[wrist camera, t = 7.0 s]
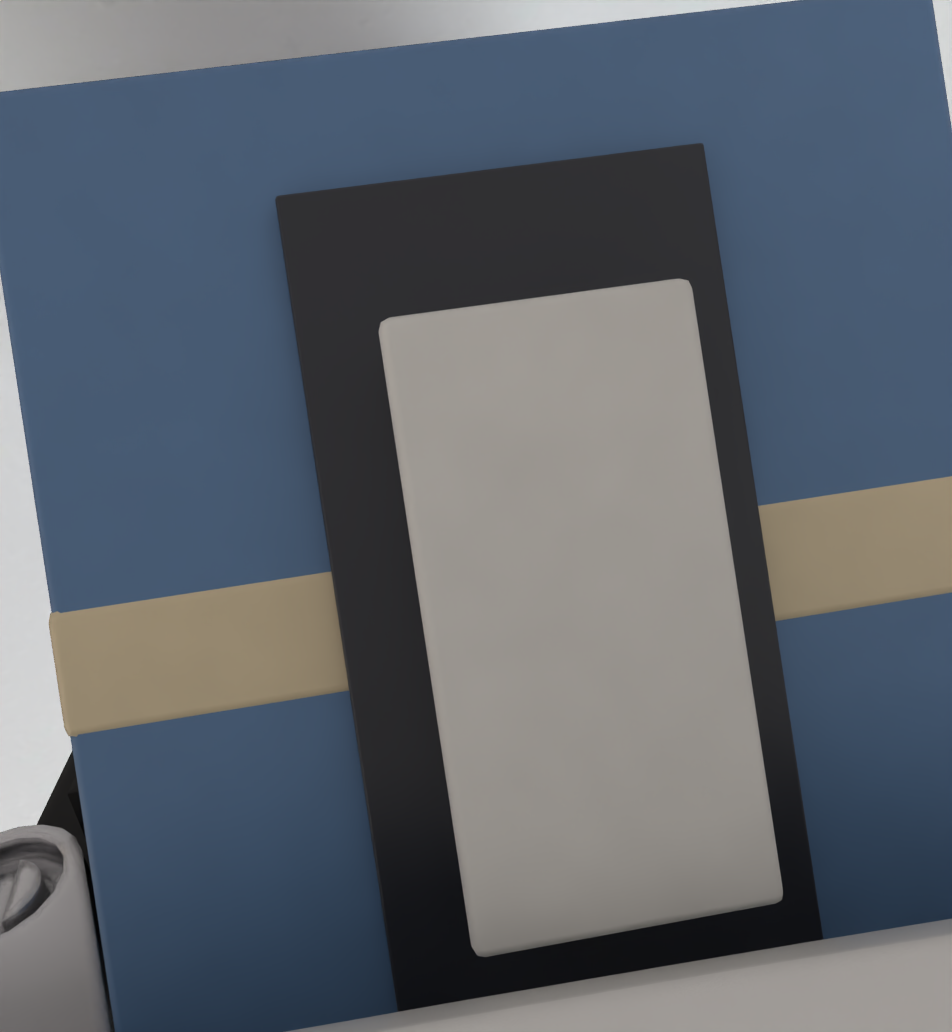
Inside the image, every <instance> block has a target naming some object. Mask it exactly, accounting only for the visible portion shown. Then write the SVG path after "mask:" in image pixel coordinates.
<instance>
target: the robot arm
mask: <svg viewBox="0 0 952 1032" xmlns="http://www.w3.org/2000/svg"><path fill="white" fill-rule="evenodd" d="M0 1032H115V1028H114V1021H113V1015H112V1008H111V1002H110V995H109V988H108V982H107V975H106V968H105V962H104V955H103V949H102V942H101V935H100V929H99V922H98V916H97V909H96V902H95V896H94V889H93V882H92V876H91V869H90V863H89V856H88V849H87V843H86V836H85V829H84V823H83V816H82V810H81V803H80V796H79V790H78V783H77V776H76V770H75V763H74V757H73V750H72V752H71V755H70V757H69V759H68V761H67V763H66V765H65V767H64V769H63V771H62V773H61V775H60V777H59V780H58V782H57V784H56V786H55V788H54V790H53V792H52V794H51V796H50V798H49V800H48V802H47V805H46V807H45V809H44V811H43V813H42V815H41V817H40V819H39V821H38V823H37V825H33V826H23V827H17V828H13V829H10V830H7V831H4V832H0ZM286 1032H952V919H946V920H940V921H934V922H927V923H921V924H915V925H909V926H903V927H897V928H891V929H885V930H878V931H872V932H866V933H860V934H854V935H848V936H842V937H836V938H829V939H823V940H817V941H811V942H805V943H799V944H793V945H787V946H781V947H775V948H769V949H763V950H758V951H752V952H746V953H740V954H734V955H728V956H722V957H716V958H710V959H704V960H698V961H692V962H686V963H680V964H674V965H668V966H663V967H657V968H651V969H645V970H639V971H633V972H627V973H621V974H615V975H609V976H604V977H598V978H592V979H586V980H580V981H574V982H568V983H563V984H557V985H551V986H545V987H539V988H533V989H527V990H521V991H516V992H510V993H504V994H498V995H492V996H486V997H480V998H475V999H469V1000H463V1001H457V1002H451V1003H446V1004H440V1005H434V1006H429V1007H423V1008H417V1009H412V1010H406V1011H400V1012H394V1013H389V1014H383V1015H377V1016H372V1017H366V1018H360V1019H355V1020H349V1021H343V1022H337V1023H332V1024H326V1025H320V1026H315V1027H309V1028H303V1029H298V1030H292V1031H286Z"/></svg>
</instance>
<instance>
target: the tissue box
mask: <svg viewBox="0 0 952 1032" xmlns="http://www.w3.org/2000/svg"><path fill="white" fill-rule="evenodd" d="M0 273H1V280H2V286H3V293H4V300H5V306H6V313H7V320H8V326H9V333H10V339H11V346H12V353H13V359H14V366H15V372H16V379H17V386H18V392H19V399H20V406H21V412H22V419H23V425H24V432H25V439H26V445H27V452H28V459H29V465H30V472H31V478H32V485H33V492H34V498H35V505H36V512H37V518H38V525H39V531H40V538H41V545H42V551H43V558H44V565H45V571H46V578H47V584H48V591H49V598H50V604H51V611H52V612H51V614H50V618H49V629H50V635H51V642H52V648H53V655H54V662H55V668H56V675H57V681H58V688H59V695H60V701H61V708H62V715H63V721H64V728H65V730H66V732H67V734H68V736H70V737H71V743H72V750H73V757H74V763H75V770H76V776H77V783H78V790H79V796H80V803H81V810H82V816H83V823H84V829H85V836H86V843H87V849H88V856H89V863H90V869H91V876H92V882H93V889H94V896H95V902H96V909H97V916H98V922H99V929H100V935H101V942H102V949H103V955H104V962H105V968H106V975H107V982H108V988H109V995H110V1002H111V1008H112V1015H113V1021H114V1028H115V1032H286V1031H292V1030H298V1029H303V1028H309V1027H315V1026H320V1025H326V1024H332V1023H337V1022H343V1021H349V1020H355V1019H360V1018H366V1017H372V1016H377V1015H383V1014H389V1013H394V1012H400V1011H406V1010H412V1009H417V1008H423V1007H429V1006H434V1005H440V1004H446V1003H451V1002H457V1001H463V1000H469V999H475V998H480V997H486V996H492V995H498V994H504V993H510V992H516V991H521V990H527V989H533V988H539V987H545V986H551V985H557V984H563V983H568V982H574V981H580V980H586V979H592V978H598V977H604V976H609V975H615V974H621V973H627V972H633V971H639V970H645V969H651V968H657V967H663V966H668V965H674V964H680V963H686V962H692V961H698V960H704V959H710V958H716V957H722V956H728V955H734V954H740V953H746V952H752V951H758V950H763V949H769V948H775V947H781V946H787V945H793V944H799V943H805V942H811V941H817V940H823V939H829V938H836V937H842V936H848V935H854V934H860V933H866V932H872V931H878V930H885V929H891V928H897V927H903V926H909V925H915V924H921V923H927V922H934V921H940V920H946V919H952V128H951V121H950V115H949V108H948V102H947V95H946V88H945V82H944V75H943V68H942V62H941V55H940V49H939V42H938V35H937V29H936V22H935V15H934V9H933V2H932V0H799V1H790V2H781V3H772V4H764V5H755V6H746V7H738V8H729V9H720V10H711V11H703V12H694V13H685V14H676V15H668V16H659V17H650V18H642V19H633V20H624V21H615V22H607V23H598V24H589V25H580V26H572V27H563V28H554V29H546V30H537V31H528V32H519V33H511V34H502V35H493V36H484V37H476V38H467V39H458V40H450V41H441V42H432V43H423V44H415V45H406V46H397V47H388V48H380V49H371V50H362V51H353V52H345V53H336V54H327V55H319V56H310V57H301V58H292V59H284V60H275V61H266V62H257V63H249V64H240V65H231V66H223V67H214V68H205V69H196V70H188V71H179V72H170V73H161V74H153V75H144V76H135V77H127V78H118V79H109V80H100V81H92V82H83V83H74V84H65V85H57V86H48V87H39V88H30V89H22V90H13V91H4V92H0Z"/></svg>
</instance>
